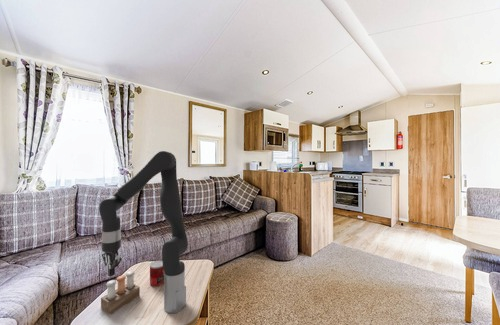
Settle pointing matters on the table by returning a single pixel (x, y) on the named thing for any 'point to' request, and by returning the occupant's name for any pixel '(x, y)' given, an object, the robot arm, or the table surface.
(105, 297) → the walnut block
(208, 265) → the table surface
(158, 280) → the canned food
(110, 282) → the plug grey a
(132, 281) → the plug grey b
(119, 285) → the plug terracotta
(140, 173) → the robot arm
